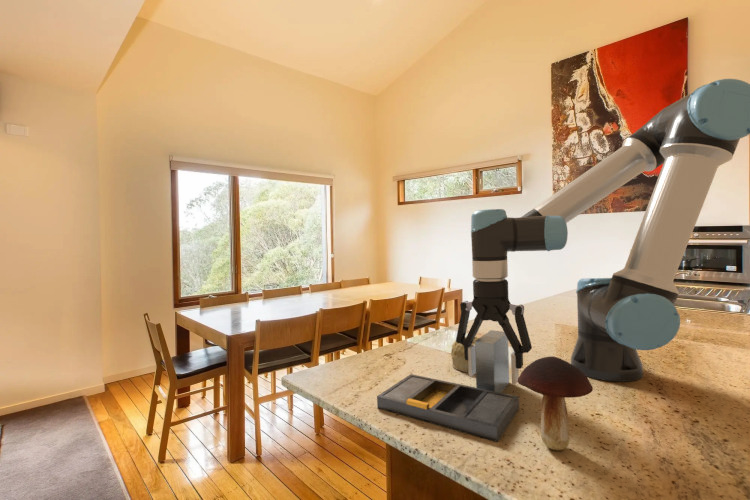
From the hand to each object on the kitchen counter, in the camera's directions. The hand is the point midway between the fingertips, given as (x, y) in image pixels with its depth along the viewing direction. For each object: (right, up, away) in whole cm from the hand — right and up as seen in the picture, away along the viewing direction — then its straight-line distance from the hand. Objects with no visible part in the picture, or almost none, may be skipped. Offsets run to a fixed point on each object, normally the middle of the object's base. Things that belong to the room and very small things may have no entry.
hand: (493, 377), depth 85 cm
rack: (-12, -3, -8) cm, 15 cm away
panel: (0, -3, 0) cm, 3 cm away
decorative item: (-2, -2, +15) cm, 15 cm away
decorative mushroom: (+3, -4, -24) cm, 24 cm away
